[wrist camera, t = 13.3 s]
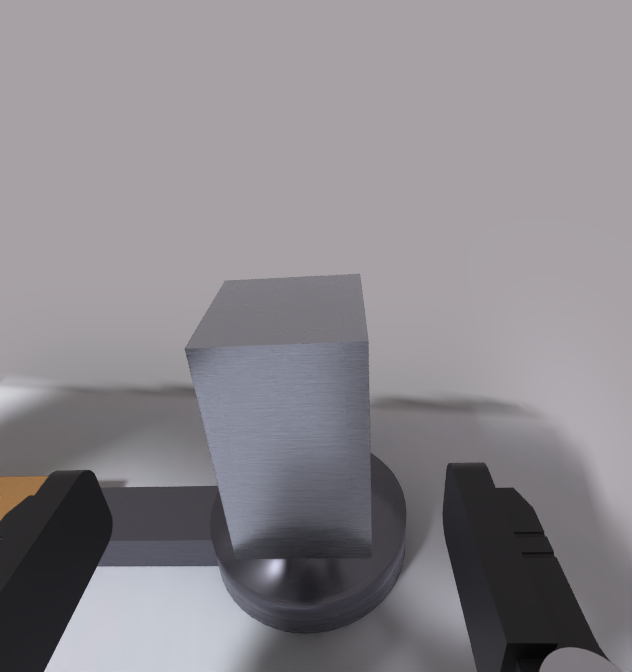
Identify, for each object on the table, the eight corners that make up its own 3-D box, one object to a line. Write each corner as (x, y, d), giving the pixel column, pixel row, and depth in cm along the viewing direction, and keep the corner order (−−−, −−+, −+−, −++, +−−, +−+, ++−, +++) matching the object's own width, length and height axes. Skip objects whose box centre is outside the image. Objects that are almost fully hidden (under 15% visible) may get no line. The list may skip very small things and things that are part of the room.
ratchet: (-230, 628, 18) (-337, 535, 15) (-68, 475, 25) (-121, 393, 22) (418, 634, 16) (425, 528, 13) (394, 466, 23) (395, 376, 20)
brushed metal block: (235, 559, 17) (184, 348, 12) (257, 461, 21) (224, 280, 17) (371, 558, 16) (368, 340, 12) (364, 458, 21) (360, 273, 16)
